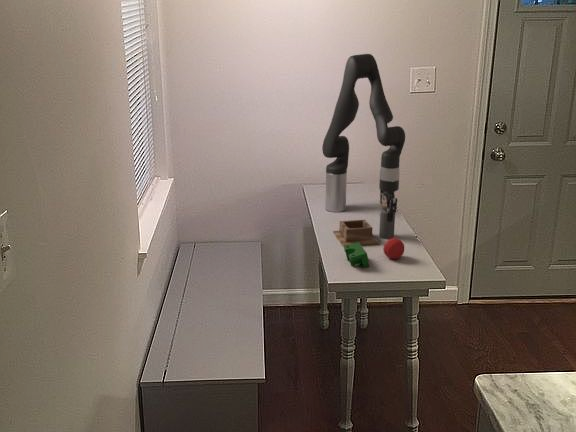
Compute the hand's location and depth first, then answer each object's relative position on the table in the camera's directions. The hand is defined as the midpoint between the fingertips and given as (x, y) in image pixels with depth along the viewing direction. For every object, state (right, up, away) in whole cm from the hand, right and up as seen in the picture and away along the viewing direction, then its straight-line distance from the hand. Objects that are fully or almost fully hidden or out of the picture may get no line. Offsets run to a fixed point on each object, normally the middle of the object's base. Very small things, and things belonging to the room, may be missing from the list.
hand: (387, 218), depth 265 cm
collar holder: (-13, -8, 0) cm, 15 cm away
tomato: (-1, -15, -19) cm, 24 cm away
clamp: (-15, -16, -23) cm, 32 cm away
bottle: (0, -7, +3) cm, 8 cm away
